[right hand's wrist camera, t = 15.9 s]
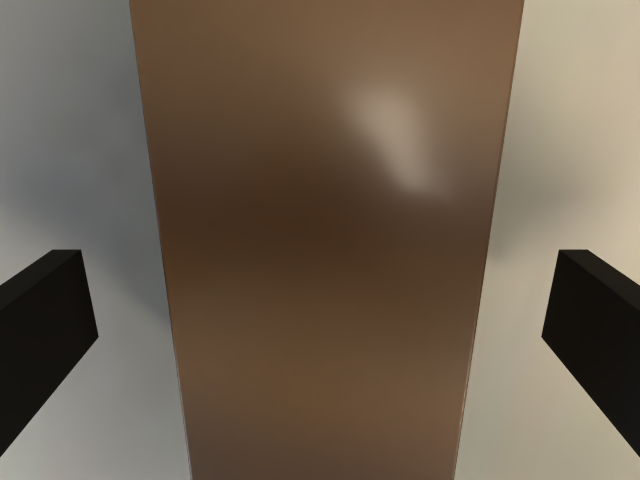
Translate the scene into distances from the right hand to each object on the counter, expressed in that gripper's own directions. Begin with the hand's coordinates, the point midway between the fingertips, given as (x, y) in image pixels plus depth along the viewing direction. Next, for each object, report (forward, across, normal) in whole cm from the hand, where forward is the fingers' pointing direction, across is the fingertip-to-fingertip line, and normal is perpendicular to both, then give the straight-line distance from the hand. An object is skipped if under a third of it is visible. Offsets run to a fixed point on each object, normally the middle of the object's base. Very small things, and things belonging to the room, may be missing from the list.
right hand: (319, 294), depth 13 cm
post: (+4, 0, -27) cm, 27 cm away
